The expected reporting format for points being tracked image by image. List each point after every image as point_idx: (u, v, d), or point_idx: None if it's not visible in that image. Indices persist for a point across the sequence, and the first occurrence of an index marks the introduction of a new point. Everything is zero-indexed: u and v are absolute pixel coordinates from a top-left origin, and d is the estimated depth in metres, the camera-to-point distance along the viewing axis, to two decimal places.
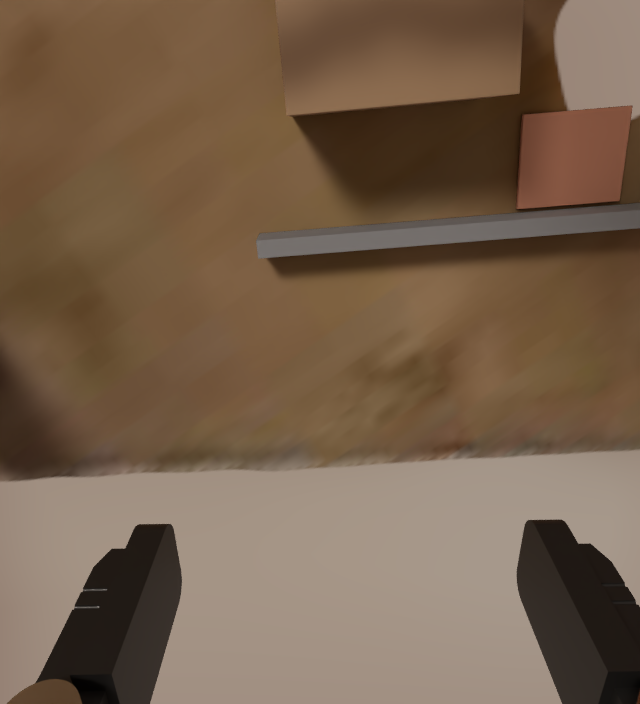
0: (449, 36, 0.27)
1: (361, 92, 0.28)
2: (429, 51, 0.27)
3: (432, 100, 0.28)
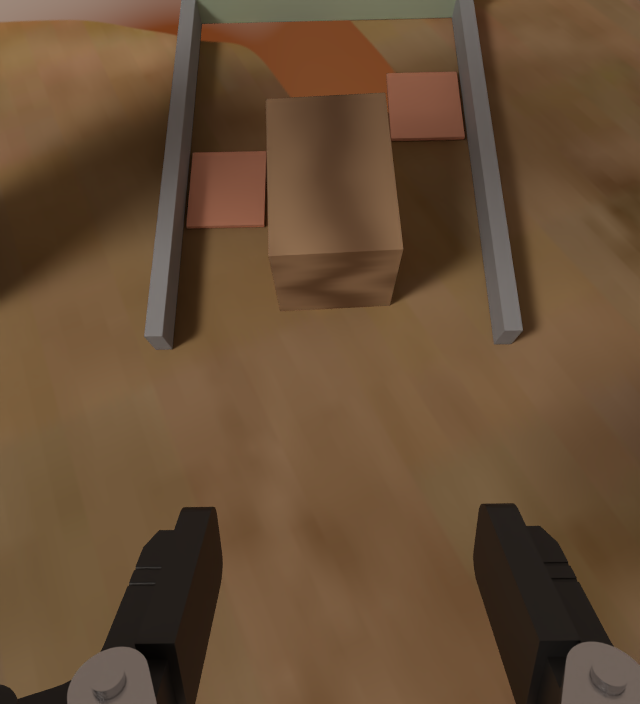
0: (345, 138, 0.35)
1: (385, 194, 0.33)
2: (355, 150, 0.35)
3: (390, 146, 0.35)
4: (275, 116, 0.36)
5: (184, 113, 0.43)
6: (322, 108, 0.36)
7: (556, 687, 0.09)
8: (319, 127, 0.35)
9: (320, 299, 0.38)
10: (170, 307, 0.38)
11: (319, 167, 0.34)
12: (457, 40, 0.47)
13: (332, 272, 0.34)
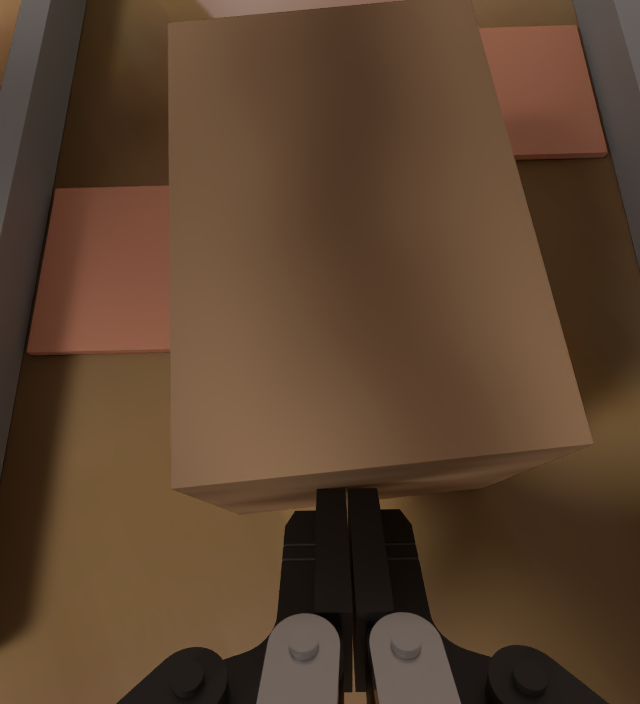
0: (380, 110, 0.13)
1: (509, 265, 0.12)
2: (409, 142, 0.13)
3: (503, 127, 0.13)
4: (193, 65, 0.14)
5: (29, 108, 0.20)
6: (312, 40, 0.14)
7: (368, 655, 0.09)
8: (307, 87, 0.13)
9: None
10: None
11: (315, 195, 0.12)
12: None
13: (365, 482, 0.12)
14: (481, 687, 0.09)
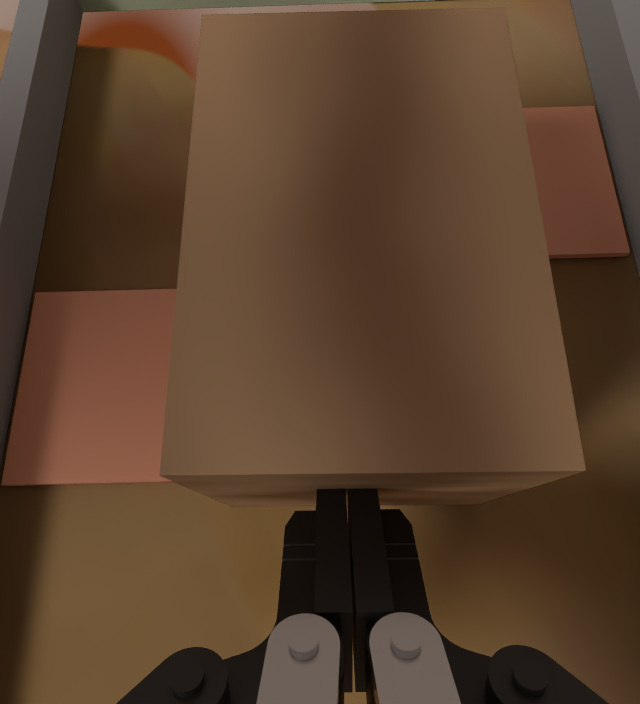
0: (403, 118, 0.13)
1: (518, 283, 0.11)
2: (430, 151, 0.13)
3: (526, 144, 0.13)
4: (222, 58, 0.14)
5: (5, 212, 0.19)
6: (343, 42, 0.14)
7: (368, 655, 0.09)
8: (333, 88, 0.13)
9: None
10: None
11: (330, 197, 0.12)
12: (590, 41, 0.23)
13: (355, 487, 0.12)
14: (481, 687, 0.09)
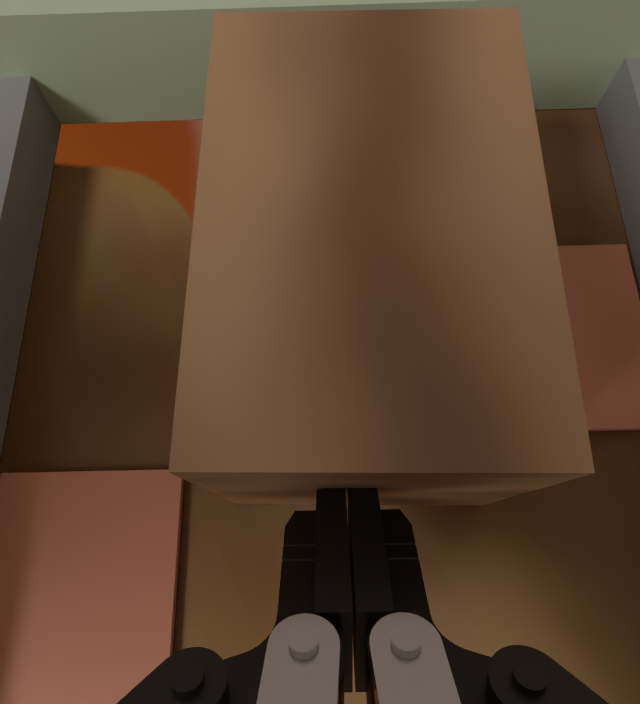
0: (415, 117, 0.13)
1: (528, 284, 0.11)
2: (441, 151, 0.13)
3: (538, 145, 0.13)
4: (234, 56, 0.14)
5: None
6: (355, 41, 0.14)
7: (368, 654, 0.09)
8: (345, 88, 0.13)
9: None
10: None
11: (341, 196, 0.12)
12: (621, 167, 0.21)
13: (362, 486, 0.12)
14: (481, 687, 0.09)
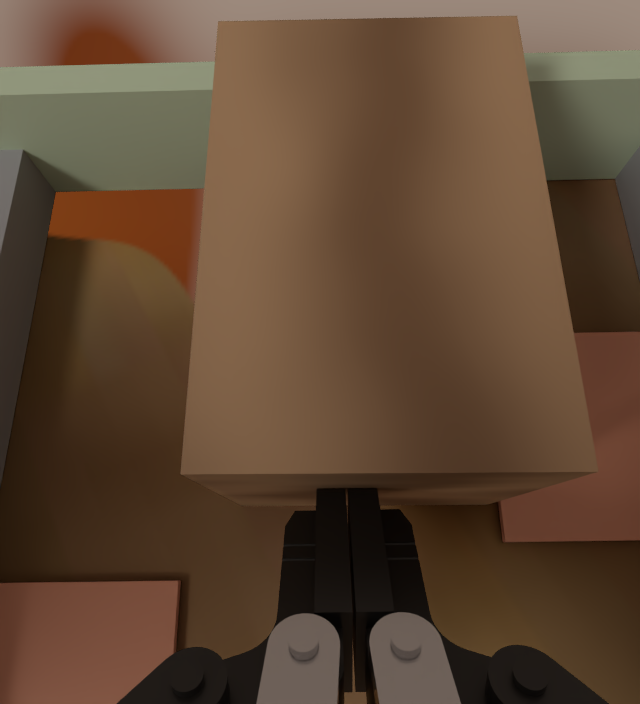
0: (417, 124, 0.13)
1: (531, 288, 0.12)
2: (444, 157, 0.13)
3: (538, 150, 0.13)
4: (238, 64, 0.14)
5: None
6: (357, 49, 0.14)
7: (368, 654, 0.09)
8: (349, 95, 0.14)
9: None
10: None
11: (346, 201, 0.13)
12: None
13: (369, 487, 0.13)
14: (481, 687, 0.09)
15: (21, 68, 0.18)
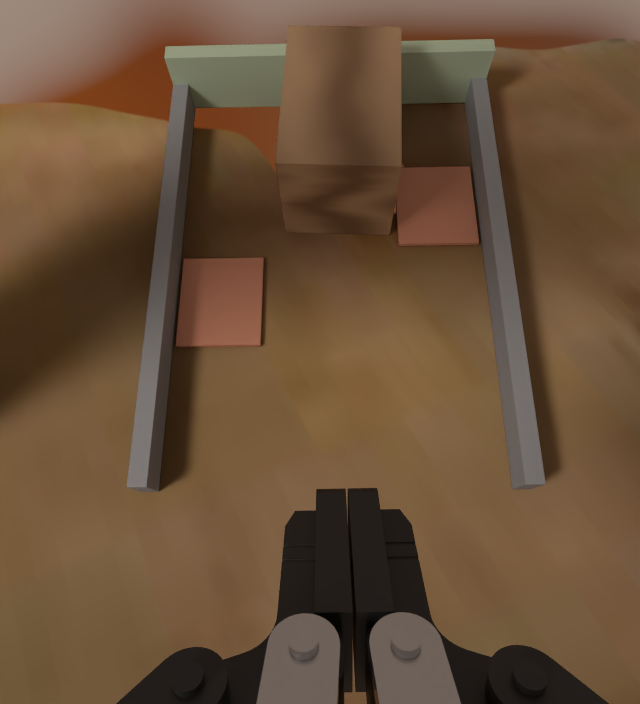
0: (358, 64, 0.37)
1: (390, 117, 0.35)
2: (366, 76, 0.37)
3: (400, 75, 0.37)
4: (295, 41, 0.38)
5: (174, 219, 0.39)
6: (339, 37, 0.38)
7: (368, 654, 0.09)
8: (335, 54, 0.37)
9: (323, 221, 0.40)
10: (157, 446, 0.35)
11: (331, 89, 0.36)
12: (470, 130, 0.44)
13: (334, 189, 0.36)
14: (481, 687, 0.09)
15: (195, 46, 0.42)
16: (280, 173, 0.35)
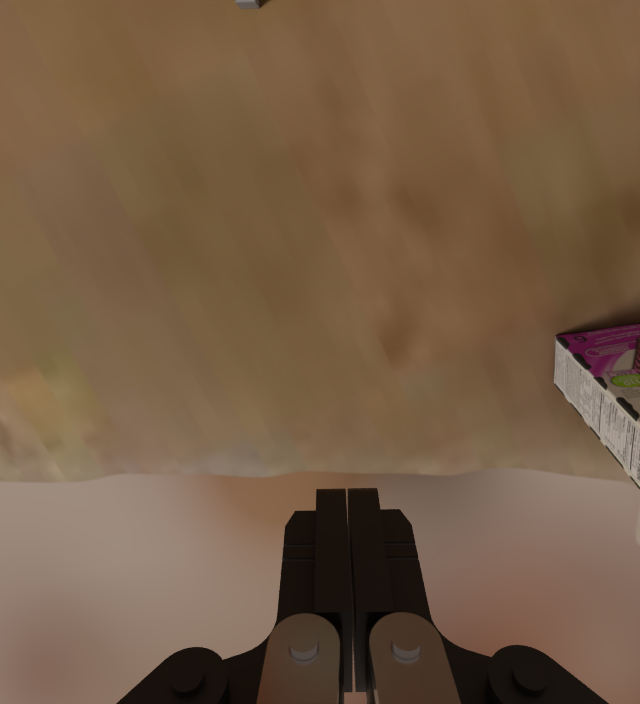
0: None
1: None
2: None
3: None
4: None
5: None
6: None
7: (368, 654, 0.09)
8: None
9: None
10: None
11: None
12: None
13: None
14: (481, 687, 0.09)
15: None
16: None
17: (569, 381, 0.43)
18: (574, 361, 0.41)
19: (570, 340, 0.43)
